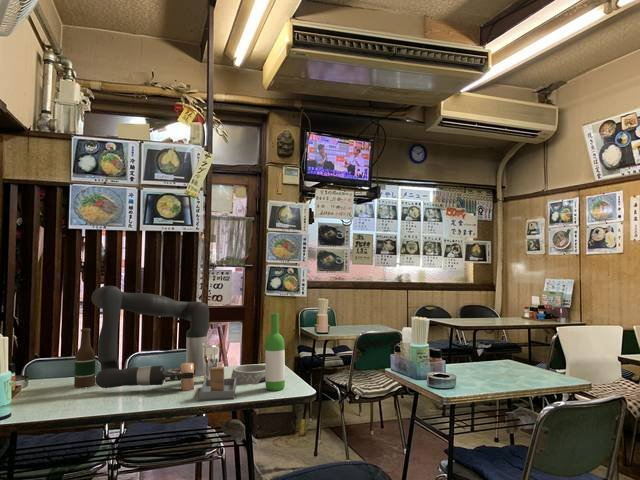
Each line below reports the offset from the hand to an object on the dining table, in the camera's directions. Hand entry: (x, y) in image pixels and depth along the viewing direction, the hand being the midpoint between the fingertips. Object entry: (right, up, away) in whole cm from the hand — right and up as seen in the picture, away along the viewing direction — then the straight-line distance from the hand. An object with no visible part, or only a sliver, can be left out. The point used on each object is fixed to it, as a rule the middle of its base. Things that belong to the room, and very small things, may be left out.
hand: (194, 373), depth 187 cm
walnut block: (+12, -4, -13) cm, 18 cm away
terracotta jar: (-2, -6, -1) cm, 7 cm away
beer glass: (+4, -7, +12) cm, 15 cm away
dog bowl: (+21, -7, +15) cm, 27 cm away
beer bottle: (-48, -7, +7) cm, 49 cm away
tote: (+11, -5, -7) cm, 14 cm away
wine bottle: (+33, -6, -2) cm, 34 cm away
